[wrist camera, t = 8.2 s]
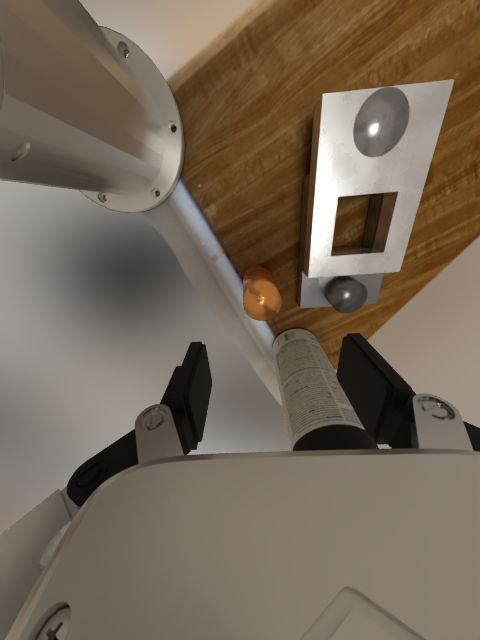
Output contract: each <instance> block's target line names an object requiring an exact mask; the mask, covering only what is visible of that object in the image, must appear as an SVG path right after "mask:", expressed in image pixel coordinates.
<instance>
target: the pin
mask: <svg viewBox="0 0 480 640" xmlns="http://www.w3.org/2000/svg"><path fill="white" fill-rule="evenodd" d="M243 305H244V310H245V312H246V313H247V315H248V316H250V317H251V318H253V319H255V320H259V321H264V320H268V319H271V318H273V317H274V316H275V315H276V314H277V313H278V312H279V310H280V308H281V297H280V294H279V292H278V290H277V288H276V285H275V283H274V281H273V278H272V276H271V274H270V272H269V270H268V269H267V268H266V267H265V266H263V265H252V266H250V267H249V268H248V269H247V270H246V271H245V273H244V277H243Z"/></svg>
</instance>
